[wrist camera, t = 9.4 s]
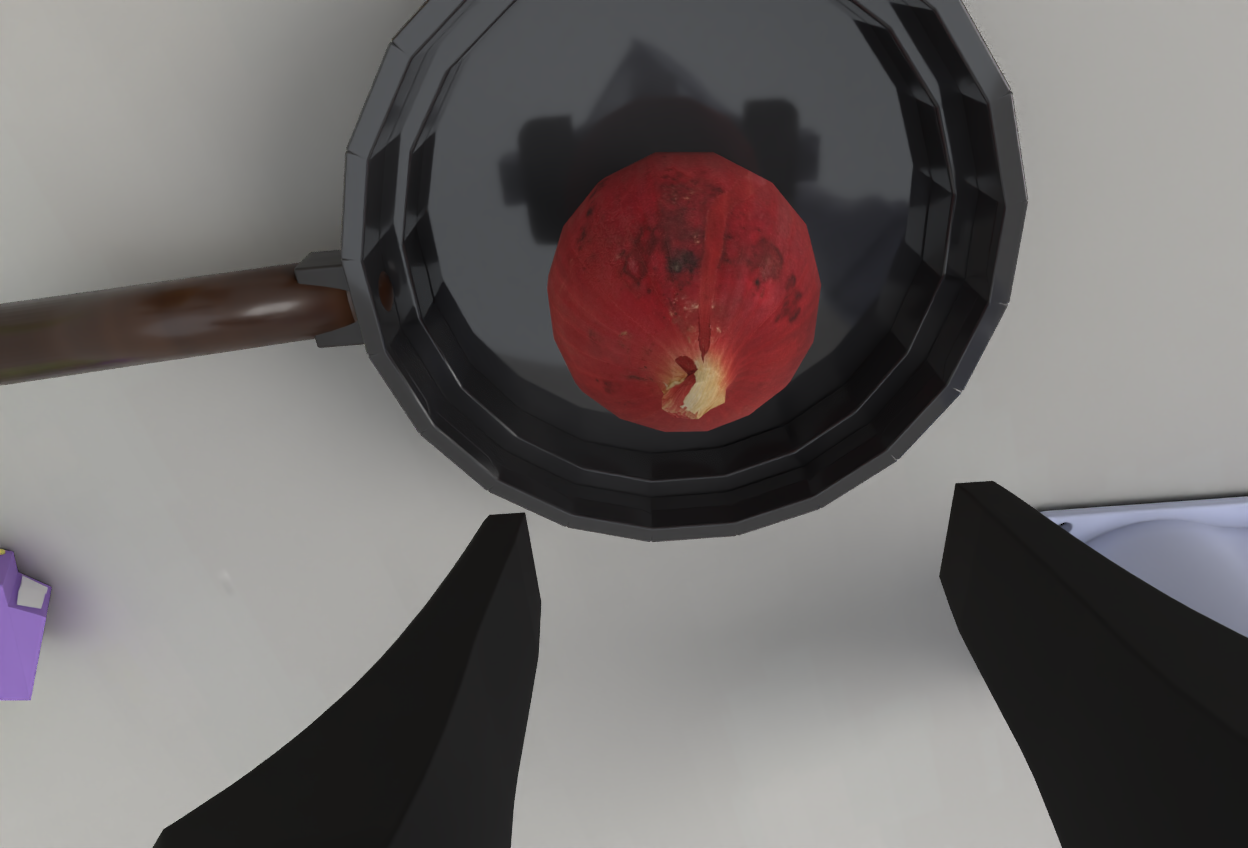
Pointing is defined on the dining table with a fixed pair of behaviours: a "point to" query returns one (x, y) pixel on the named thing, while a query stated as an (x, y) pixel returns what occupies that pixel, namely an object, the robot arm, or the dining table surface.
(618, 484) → the pan
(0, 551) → the figurine
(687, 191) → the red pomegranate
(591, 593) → the dining table surface
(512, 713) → the robot arm
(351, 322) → the pan handle
